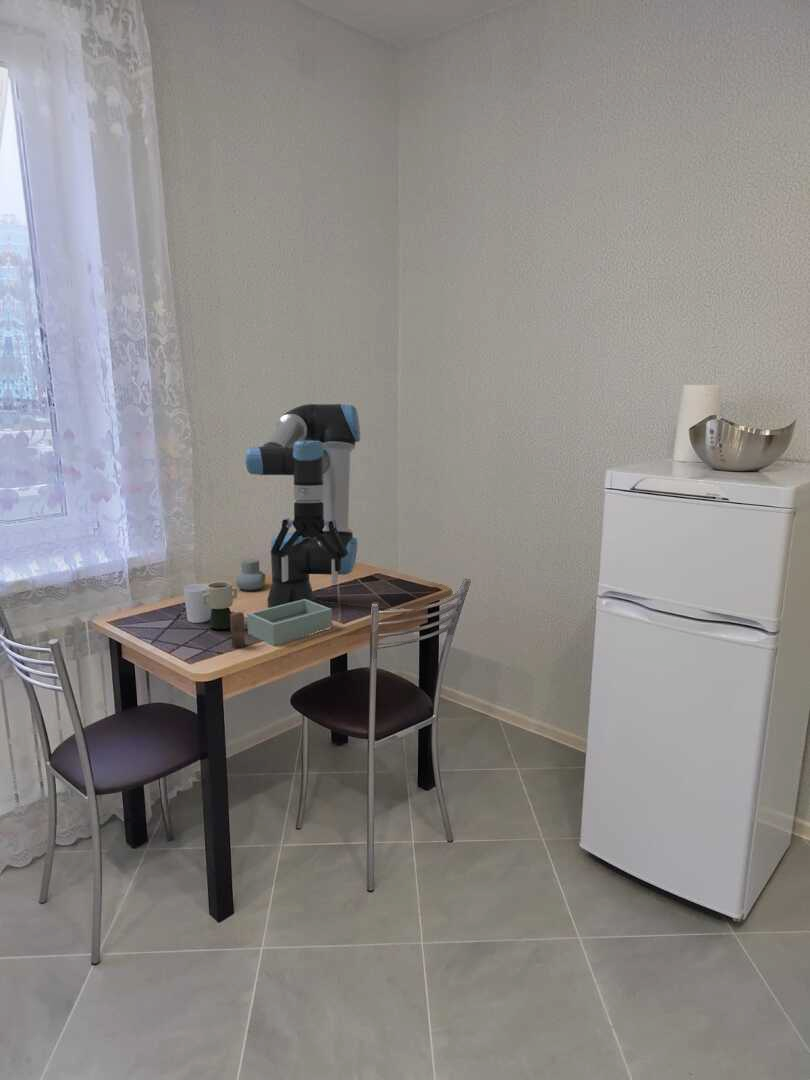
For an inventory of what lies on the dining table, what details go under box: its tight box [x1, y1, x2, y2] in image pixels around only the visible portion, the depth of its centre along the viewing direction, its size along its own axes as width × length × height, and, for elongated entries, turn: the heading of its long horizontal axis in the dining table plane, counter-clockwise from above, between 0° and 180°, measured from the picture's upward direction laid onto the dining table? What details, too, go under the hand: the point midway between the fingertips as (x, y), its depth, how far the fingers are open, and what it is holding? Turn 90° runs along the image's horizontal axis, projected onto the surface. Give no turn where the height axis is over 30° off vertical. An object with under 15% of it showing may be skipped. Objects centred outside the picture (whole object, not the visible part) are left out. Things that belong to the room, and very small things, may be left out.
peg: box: [230, 611, 246, 649], centre depth 191 cm, size 4×4×9 cm
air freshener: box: [235, 557, 266, 591], centre depth 244 cm, size 11×8×10 cm
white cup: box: [183, 583, 212, 624], centre depth 212 cm, size 8×8×10 cm
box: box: [246, 599, 333, 647], centre depth 203 cm, size 20×13×6 cm, turn 134°
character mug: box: [202, 581, 238, 630], centre depth 205 cm, size 11×7×13 cm, turn 133°
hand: (309, 582), depth 186 cm, fingers open, 13 cm apart
